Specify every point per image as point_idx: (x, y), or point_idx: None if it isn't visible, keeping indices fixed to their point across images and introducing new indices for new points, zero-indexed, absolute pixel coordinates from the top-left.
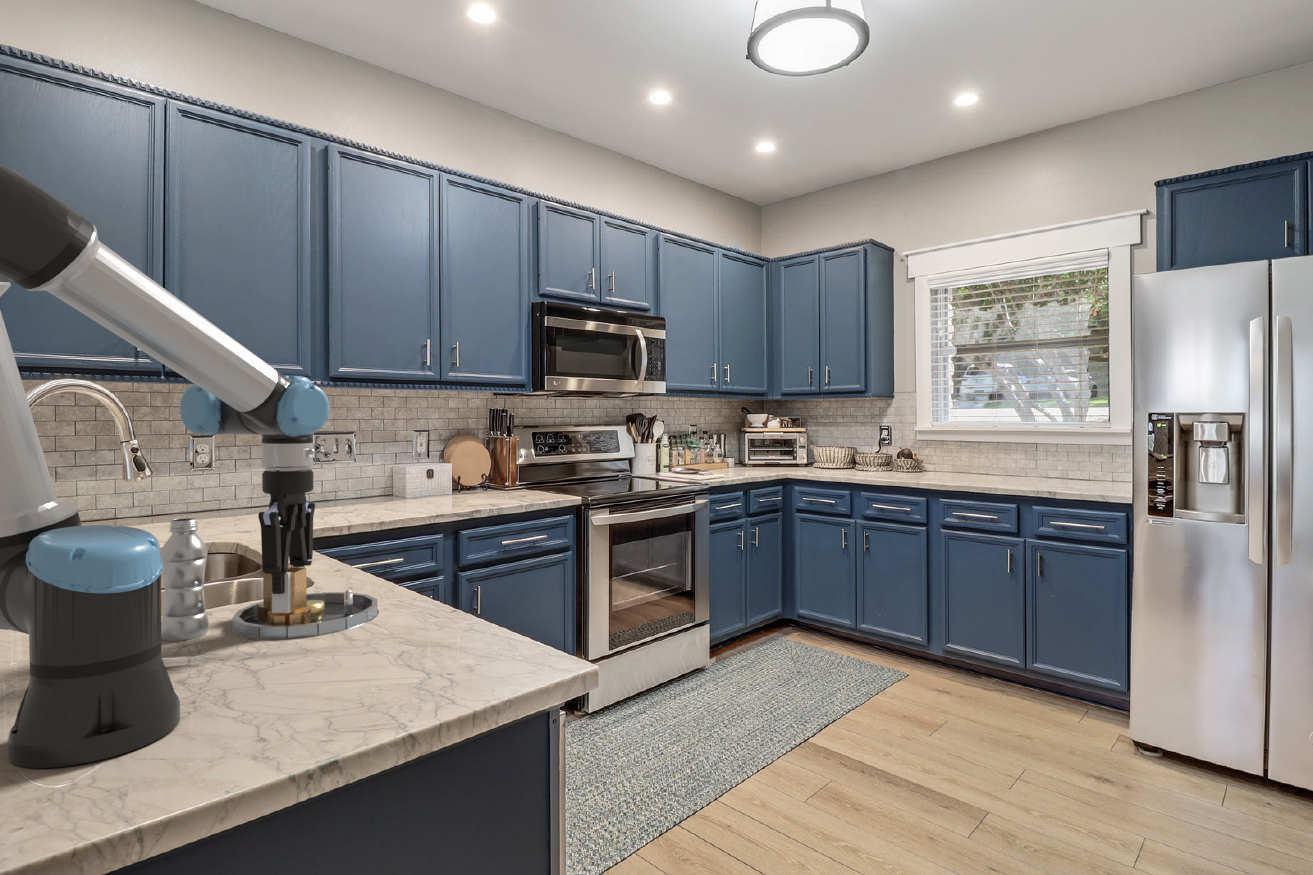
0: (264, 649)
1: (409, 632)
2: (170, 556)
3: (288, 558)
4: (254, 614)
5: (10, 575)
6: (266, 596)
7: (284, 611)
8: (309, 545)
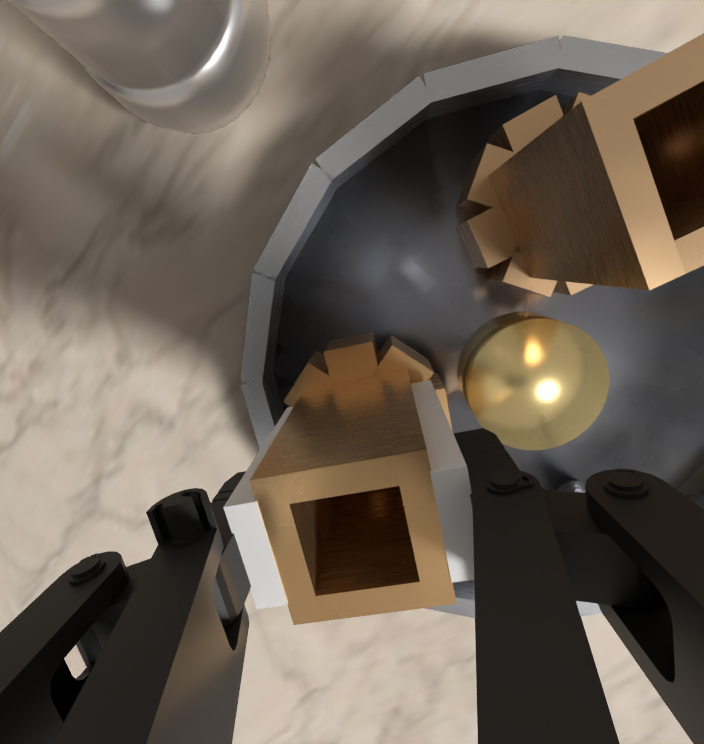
0: (237, 407)
1: None
2: None
3: (235, 706)
4: (518, 93)
5: None
6: (508, 179)
7: None
8: (686, 721)
